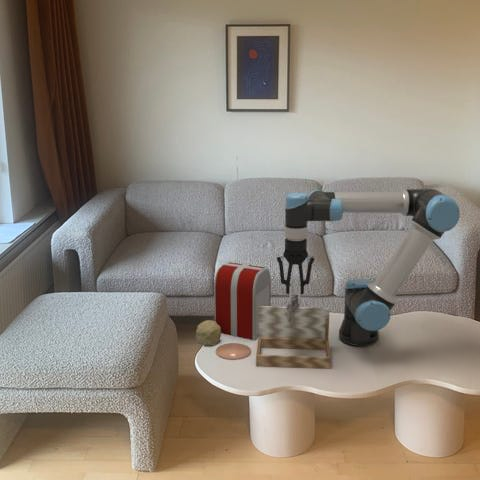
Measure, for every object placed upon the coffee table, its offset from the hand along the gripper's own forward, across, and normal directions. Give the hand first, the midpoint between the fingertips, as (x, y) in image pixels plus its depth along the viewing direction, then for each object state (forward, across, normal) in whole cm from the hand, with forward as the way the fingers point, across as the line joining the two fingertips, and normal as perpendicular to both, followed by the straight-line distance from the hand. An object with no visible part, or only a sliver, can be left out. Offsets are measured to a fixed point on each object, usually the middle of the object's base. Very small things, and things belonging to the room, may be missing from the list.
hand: (294, 302), depth 233 cm
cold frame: (+21, 0, 0) cm, 21 cm away
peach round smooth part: (+21, +22, -3) cm, 31 cm away
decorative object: (+22, +36, -11) cm, 43 cm away
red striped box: (+21, +20, -23) cm, 38 cm away
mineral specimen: (+1, -2, +6) cm, 6 cm away
